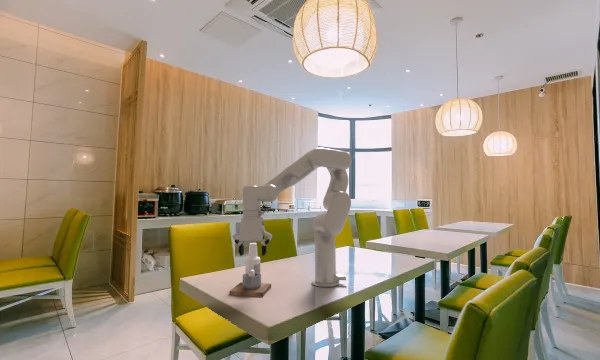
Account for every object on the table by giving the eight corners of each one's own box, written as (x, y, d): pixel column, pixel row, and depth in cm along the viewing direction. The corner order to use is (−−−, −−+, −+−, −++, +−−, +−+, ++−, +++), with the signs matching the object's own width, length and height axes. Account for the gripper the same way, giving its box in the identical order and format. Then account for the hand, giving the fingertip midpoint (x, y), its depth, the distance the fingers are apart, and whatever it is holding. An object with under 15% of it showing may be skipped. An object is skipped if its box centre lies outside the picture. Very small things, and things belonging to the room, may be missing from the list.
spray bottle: (261, 284, 126) (261, 243, 127) (246, 285, 124) (246, 244, 125) (259, 280, 132) (259, 241, 134) (244, 281, 130) (244, 242, 132)
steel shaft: (255, 286, 118) (255, 269, 119) (253, 288, 115) (253, 271, 116) (248, 285, 119) (249, 269, 119) (246, 288, 116) (246, 270, 116)
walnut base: (271, 287, 122) (271, 283, 122) (263, 296, 110) (263, 292, 110) (240, 285, 124) (240, 282, 124) (229, 294, 112) (229, 290, 112)
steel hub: (262, 284, 120) (262, 272, 120) (257, 290, 113) (257, 277, 113) (246, 284, 121) (246, 272, 122) (240, 289, 114) (240, 276, 114)
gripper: (273, 213, 122) (274, 253, 120) (236, 214, 124) (236, 253, 123) (269, 214, 114) (270, 257, 113) (229, 215, 117) (229, 257, 116)
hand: (252, 255), depth 118 cm, fingers open, 9 cm apart
